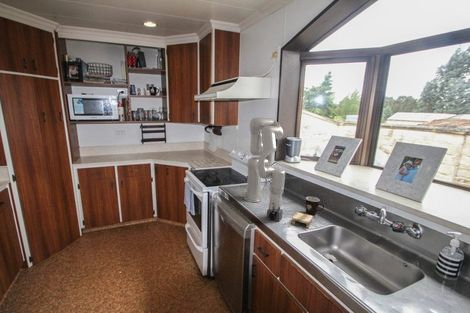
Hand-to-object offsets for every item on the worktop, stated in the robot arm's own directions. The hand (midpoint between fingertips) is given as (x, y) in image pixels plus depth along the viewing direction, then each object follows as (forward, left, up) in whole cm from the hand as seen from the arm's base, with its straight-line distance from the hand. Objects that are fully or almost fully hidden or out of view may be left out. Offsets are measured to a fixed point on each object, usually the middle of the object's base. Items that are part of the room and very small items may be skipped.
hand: (274, 216), depth 147 cm
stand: (+16, +4, -1) cm, 17 cm away
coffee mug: (+19, +21, -2) cm, 28 cm away
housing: (0, 0, -2) cm, 2 cm away
